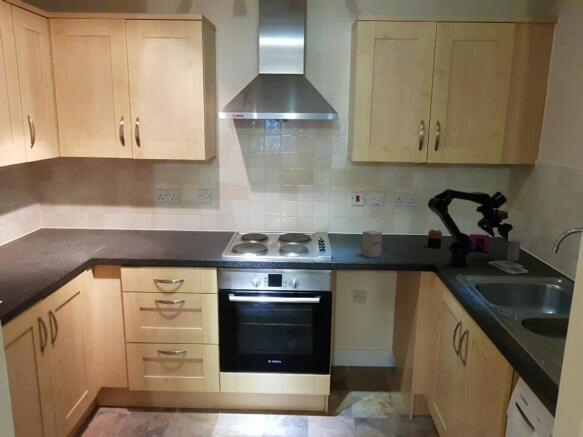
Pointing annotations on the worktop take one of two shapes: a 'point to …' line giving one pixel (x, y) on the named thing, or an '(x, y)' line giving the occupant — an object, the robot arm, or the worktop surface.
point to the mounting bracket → (480, 242)
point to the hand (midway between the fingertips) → (500, 238)
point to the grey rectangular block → (513, 250)
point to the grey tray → (508, 266)
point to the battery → (434, 239)
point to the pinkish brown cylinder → (371, 243)
